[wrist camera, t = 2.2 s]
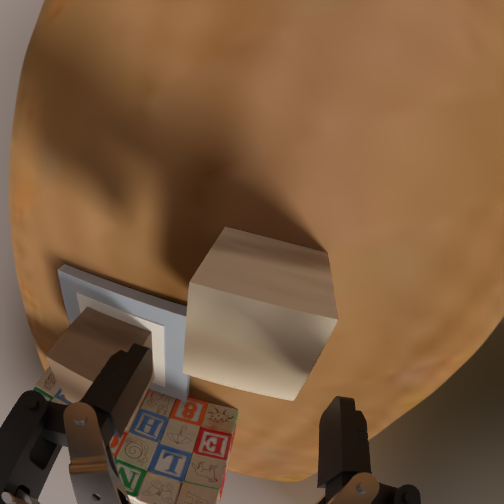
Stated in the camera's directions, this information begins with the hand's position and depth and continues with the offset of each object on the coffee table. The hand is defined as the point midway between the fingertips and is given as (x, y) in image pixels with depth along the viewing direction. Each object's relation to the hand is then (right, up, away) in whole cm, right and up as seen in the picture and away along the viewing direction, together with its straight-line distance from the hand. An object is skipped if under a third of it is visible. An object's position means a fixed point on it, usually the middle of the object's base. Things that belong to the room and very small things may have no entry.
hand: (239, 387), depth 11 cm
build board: (-10, -2, +11) cm, 15 cm away
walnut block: (-10, -2, +10) cm, 15 cm away
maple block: (+1, +4, +7) cm, 8 cm away
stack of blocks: (-11, -10, +16) cm, 22 cm away
